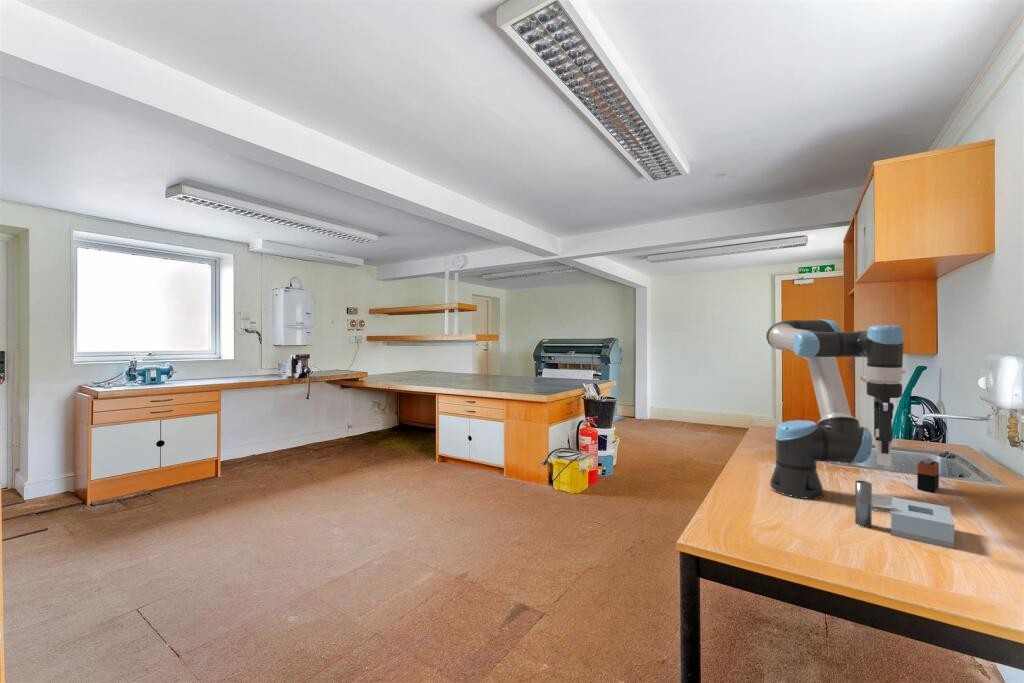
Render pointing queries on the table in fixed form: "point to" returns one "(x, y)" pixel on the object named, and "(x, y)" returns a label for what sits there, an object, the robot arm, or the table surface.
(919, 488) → the battery
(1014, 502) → the table surface
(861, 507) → the pin
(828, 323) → the robot arm
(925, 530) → the socket block
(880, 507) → the external hard drive
